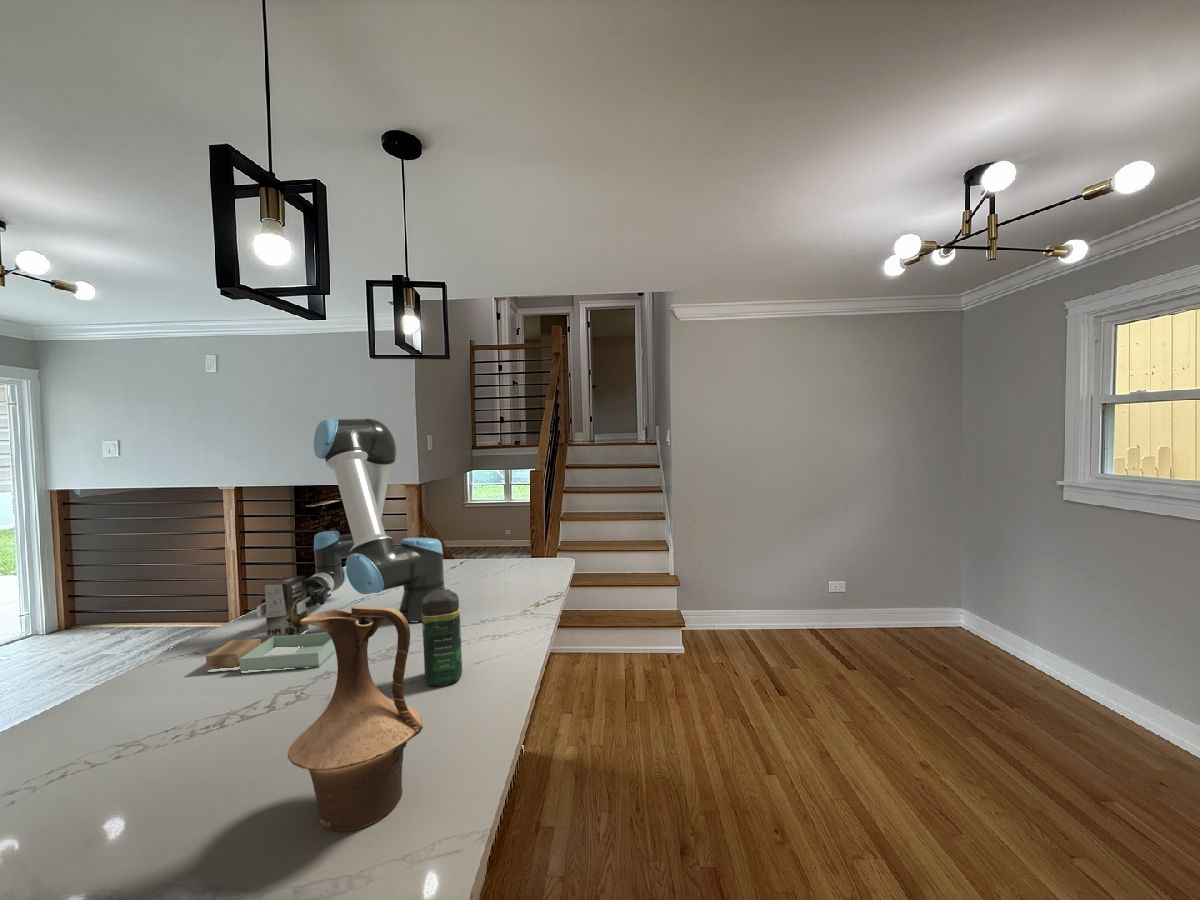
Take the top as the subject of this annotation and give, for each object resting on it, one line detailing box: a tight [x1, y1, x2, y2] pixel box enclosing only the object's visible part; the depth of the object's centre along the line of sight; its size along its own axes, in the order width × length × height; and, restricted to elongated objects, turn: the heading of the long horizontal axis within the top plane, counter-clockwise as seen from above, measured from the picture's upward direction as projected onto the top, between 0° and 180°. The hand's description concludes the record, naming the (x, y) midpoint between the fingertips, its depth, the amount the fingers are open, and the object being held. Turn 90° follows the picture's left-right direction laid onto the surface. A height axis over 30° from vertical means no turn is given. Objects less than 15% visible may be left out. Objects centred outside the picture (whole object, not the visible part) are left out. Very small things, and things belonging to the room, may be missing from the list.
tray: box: [239, 631, 336, 672], centre depth 132 cm, size 18×15×4 cm
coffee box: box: [264, 575, 309, 641], centre depth 148 cm, size 9×6×16 cm
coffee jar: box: [421, 588, 463, 687], centre depth 117 cm, size 10×8×19 cm
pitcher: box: [287, 605, 424, 832], centre depth 76 cm, size 18×17×28 cm
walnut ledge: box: [205, 638, 262, 671], centre depth 131 cm, size 7×10×4 cm
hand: (278, 610), depth 143 cm, fingers open, 9 cm apart
